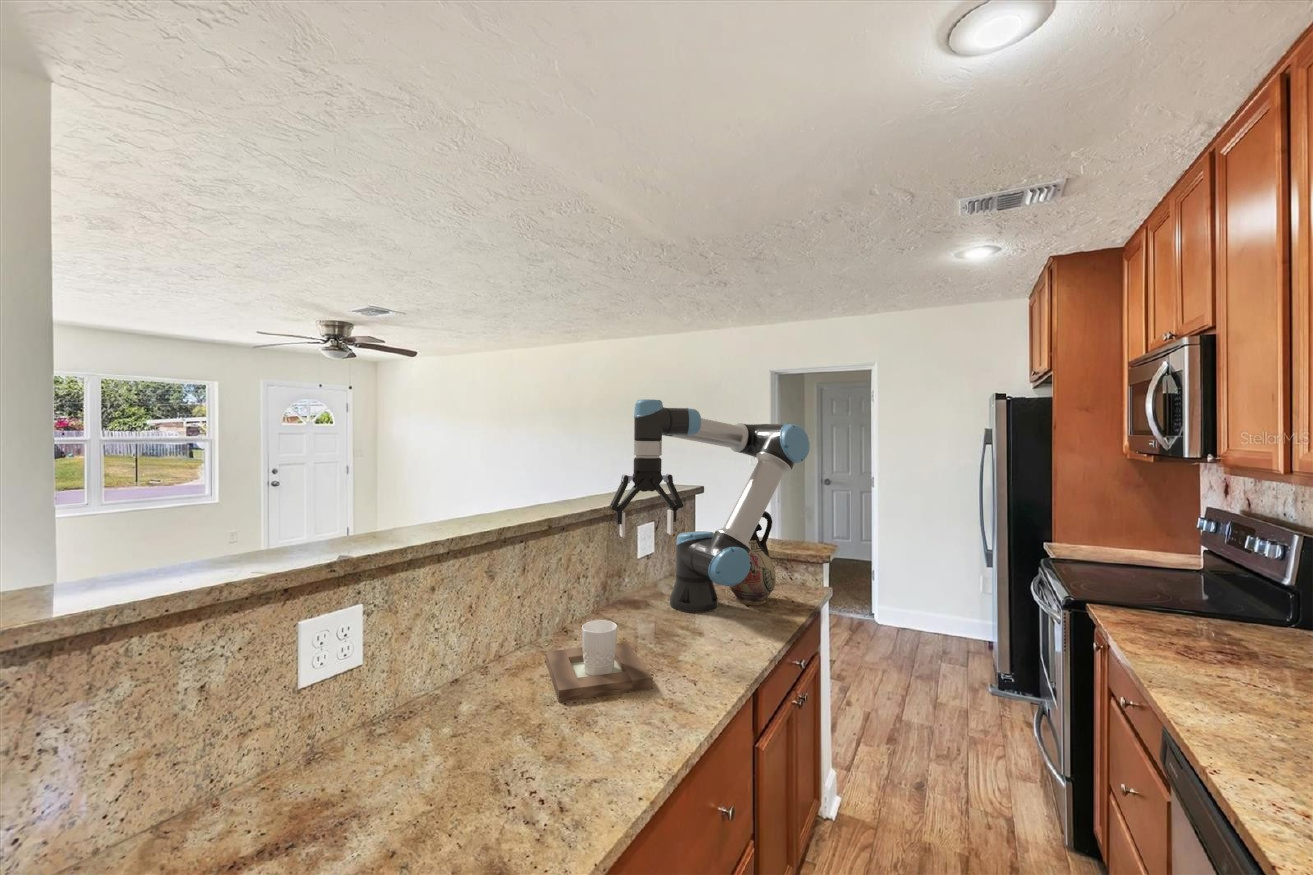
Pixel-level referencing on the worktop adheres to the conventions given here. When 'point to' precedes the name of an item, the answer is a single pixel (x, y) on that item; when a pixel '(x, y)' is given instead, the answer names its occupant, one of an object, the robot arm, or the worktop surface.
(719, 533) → the robot arm
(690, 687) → the worktop surface
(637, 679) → the wooden picture frame
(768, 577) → the ceramic jug
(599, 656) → the white cup
